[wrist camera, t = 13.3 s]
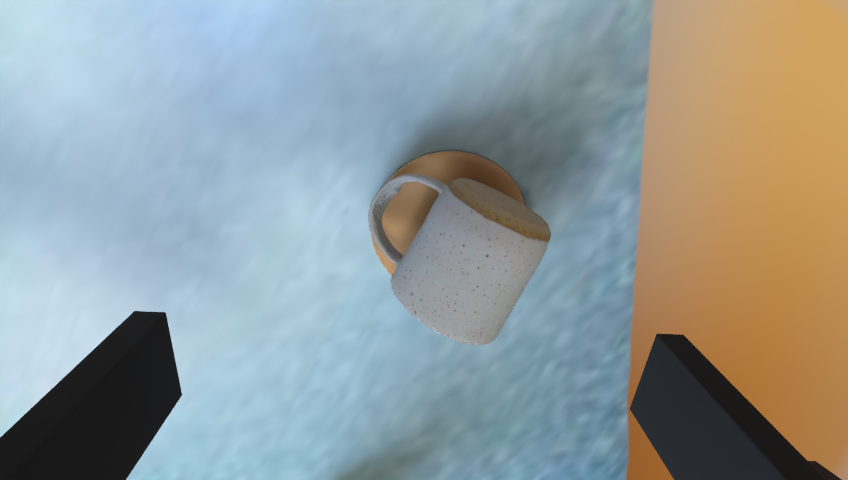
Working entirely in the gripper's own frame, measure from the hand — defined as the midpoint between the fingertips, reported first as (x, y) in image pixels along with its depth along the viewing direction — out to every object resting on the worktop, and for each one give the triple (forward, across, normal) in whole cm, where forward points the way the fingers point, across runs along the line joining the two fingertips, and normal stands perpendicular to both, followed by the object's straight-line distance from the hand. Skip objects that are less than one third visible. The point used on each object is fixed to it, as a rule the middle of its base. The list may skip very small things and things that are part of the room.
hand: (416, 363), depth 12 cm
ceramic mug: (+18, +3, -3) cm, 19 cm away
